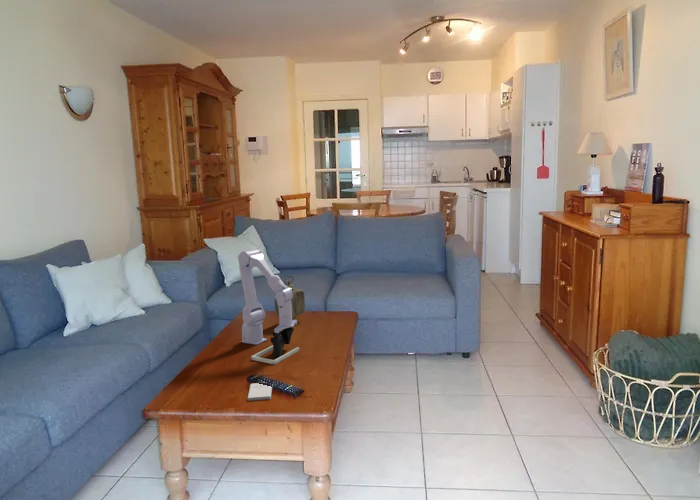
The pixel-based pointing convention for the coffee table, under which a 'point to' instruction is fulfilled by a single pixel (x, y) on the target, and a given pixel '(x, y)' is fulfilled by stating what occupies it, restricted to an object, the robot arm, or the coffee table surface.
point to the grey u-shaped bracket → (258, 358)
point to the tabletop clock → (294, 301)
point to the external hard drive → (259, 392)
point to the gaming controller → (277, 344)
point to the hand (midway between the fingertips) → (287, 343)
